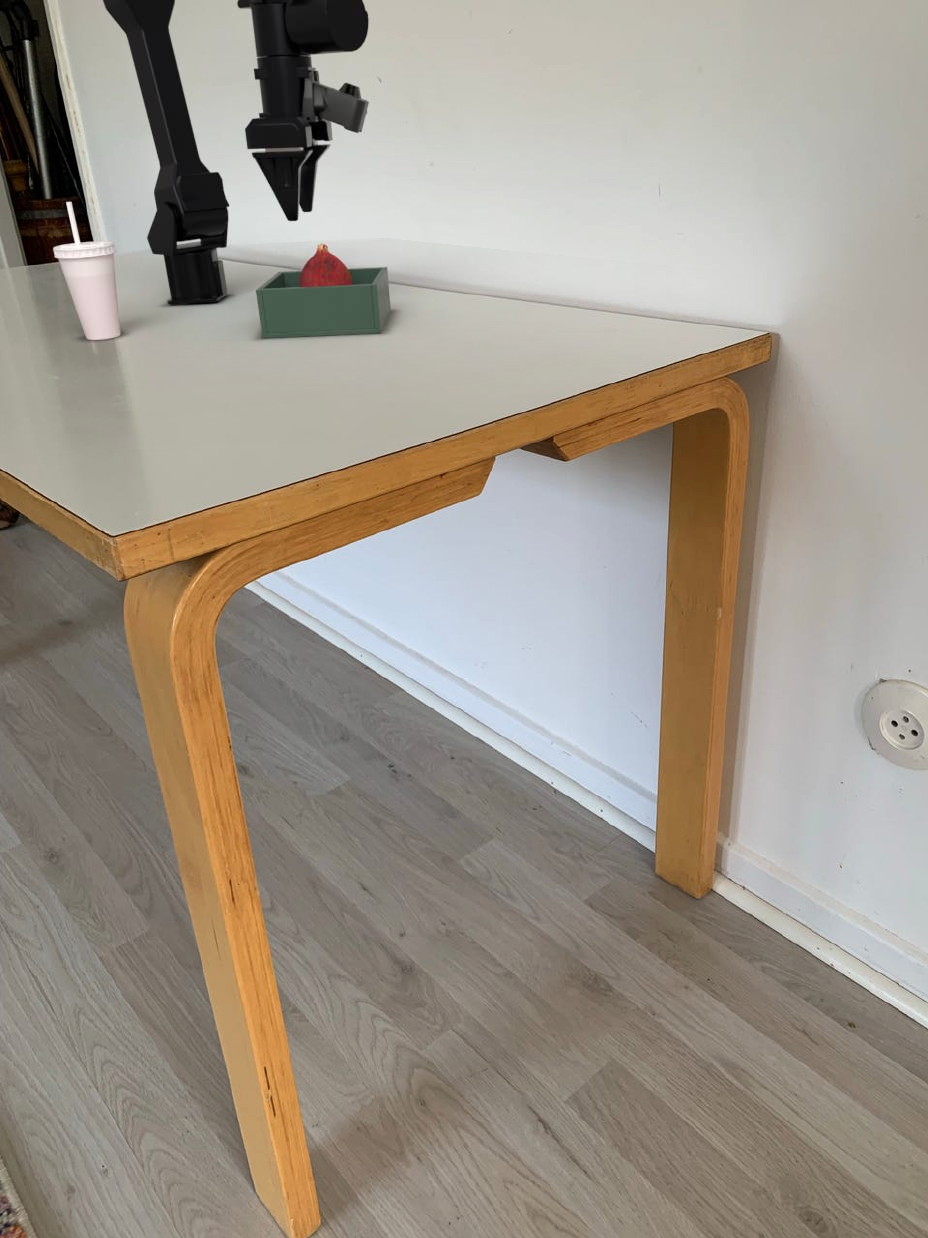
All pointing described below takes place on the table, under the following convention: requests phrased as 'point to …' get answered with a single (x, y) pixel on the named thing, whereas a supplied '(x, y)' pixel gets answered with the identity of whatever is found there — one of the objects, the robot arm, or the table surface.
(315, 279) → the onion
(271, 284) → the green storage bin
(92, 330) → the smoothie
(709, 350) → the table surface
